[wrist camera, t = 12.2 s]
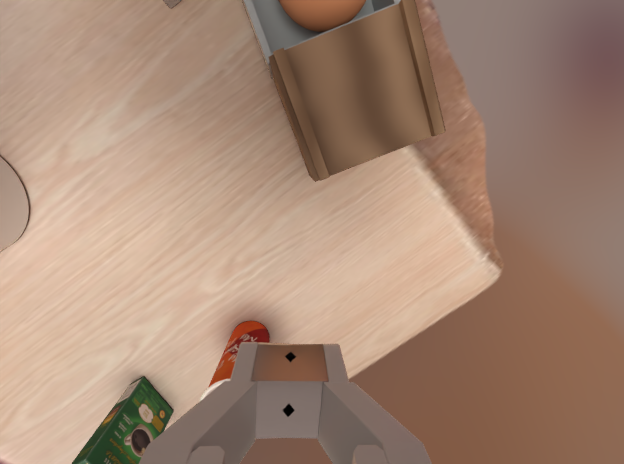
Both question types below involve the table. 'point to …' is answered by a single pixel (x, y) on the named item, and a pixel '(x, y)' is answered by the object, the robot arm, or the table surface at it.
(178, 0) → the coffee box
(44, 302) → the table surface
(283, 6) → the ball
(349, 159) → the brown wooden grooved block
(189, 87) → the table surface
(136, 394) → the coffee box
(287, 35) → the pale blue storage tray
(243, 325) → the paper cup
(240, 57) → the table surface
